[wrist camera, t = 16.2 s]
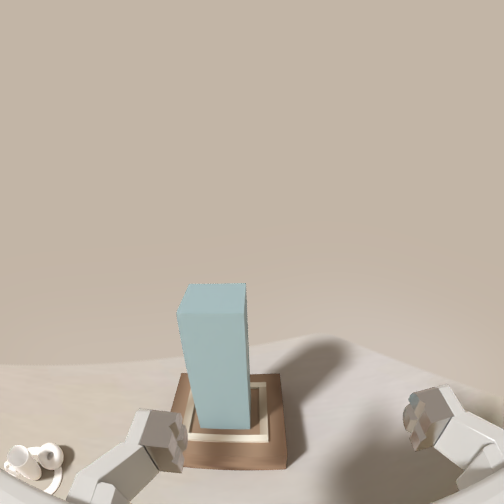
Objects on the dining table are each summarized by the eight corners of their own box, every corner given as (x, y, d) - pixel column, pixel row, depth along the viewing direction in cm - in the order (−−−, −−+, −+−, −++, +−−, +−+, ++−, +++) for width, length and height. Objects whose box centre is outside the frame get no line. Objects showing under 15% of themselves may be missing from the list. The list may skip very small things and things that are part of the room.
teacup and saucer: (65, 444, 24) (50, 423, 23) (75, 498, 18) (57, 480, 16) (9, 452, 20) (-7, 431, 19) (12, 503, 14) (-9, 484, 12)
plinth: (279, 390, 35) (279, 371, 34) (285, 469, 24) (287, 453, 23) (185, 389, 35) (181, 371, 34) (167, 464, 24) (159, 449, 23)
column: (250, 395, 31) (245, 283, 26) (250, 429, 26) (243, 313, 21) (206, 394, 31) (189, 284, 26) (200, 427, 26) (176, 313, 22)
